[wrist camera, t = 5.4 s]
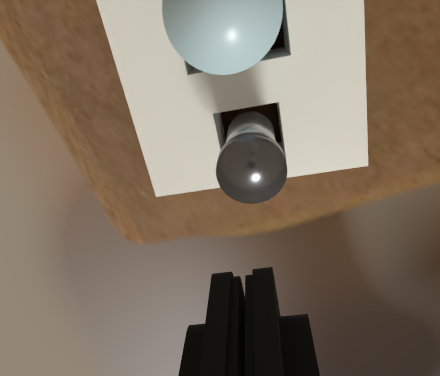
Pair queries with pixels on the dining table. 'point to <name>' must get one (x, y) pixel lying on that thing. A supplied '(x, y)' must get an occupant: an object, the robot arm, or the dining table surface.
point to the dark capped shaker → (251, 160)
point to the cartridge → (222, 32)
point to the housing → (244, 92)
